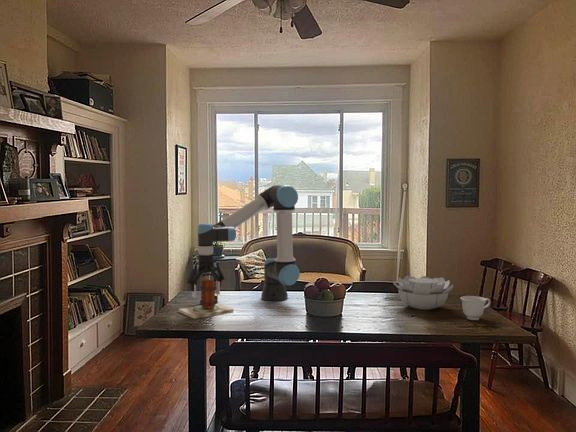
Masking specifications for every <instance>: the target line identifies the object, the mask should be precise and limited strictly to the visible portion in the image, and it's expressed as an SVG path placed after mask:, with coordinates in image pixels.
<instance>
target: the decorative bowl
mask: <svg viewBox="0 0 576 432" xmlns="http://www.w3.org/2000/svg"><path fill="white" fill-rule="evenodd" d="M450 283H451V281H450V280H447V281H446V280H445V278H444V277H434V278H430V277H428V276H426V275H423V276H420V277H414V276H410V275H406V276H404V277H403V278H401V277H398V278H397V283H396V281H395V280H394V279H393V280H392V284H393V285H394V287H396V288H397V291H398V296H399V298H400V299H401V301H402V302H403V304H404V305H407V306H408V307H411V308H412V309H417V310H422V311H423V310H426V311H428V310H433V309H437V308H440V307H442V306H443V305H444V304H445V302H446V301H447V299H448V297H449V292H450V291H452V290H453V289H454V283H452V284H451V285H450Z"/></svg>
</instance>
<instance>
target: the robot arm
mask: <svg viewBox="0 0 576 432" xmlns="http://www.w3.org/2000/svg"><path fill="white" fill-rule="evenodd" d="M298 200H299V194H298V192H297V190H296V189H295V187H293V186H291V185H288V184H281V185H280V184H275V185H272V186H270V187H268V188H267V189H265V190H264V191H262V192H260V193H259V194H257V196H256V198H254V199H253V200H251V201H250V202H248V203H246V204H245V205H244V206H242V207H241V208H239V209H237V210H236V211H234V212H232V213H231V214H230V215H227V216H226V217H225V218H223V219H221V220H220V221H219V222H217V223H215V224H214V223H199V224H198V226H197V242H198V243H197V244H198V247H197V250H198V251H197V253H198V255H197V260H198V263H197V264H192V268H191V271H190V274H189V276H188V278H187V281H186V283H187V284H189V285H190V291H191V295H192V296H191V297H192V298H193V299H196V298H197V284H196V283H197V281H198V280H199V278H200V277H202V274H203V273H206V272H211V274H212V275H213V276H214V277H213V276H212V277H213V278H215V280H217V281H216V285H215V286H216V288H217V289H216V293H215V295H217V294H218V295H221V291H220V290H221V287H222V282H223V281H224V280H225V277H224V275H223V272H222V270H221V268H220V264H219V262H218V261H216V262H215V261H214V243H217V242H218V243H219V242H222V243H223V242H233V241H235V240H236V237H237V230H236V228H237V227H239V226H241V225H242V224H244V223H245V222H247V221H248V220H250V219H252V218H253V217H255V216H256V215H259V213H261V212H262V211H267V210H269V209H270V208H271V209H272V208H273V209H272V210H273V212H274V213H275V214H276V215H275V216H276V220H275V221H276V251H277V252H276V255H277V256H276V258H266V259H265V260H264V263H263V267H264V268H263V269H264V270H263V271H264V273H263V274H264V276H263V277H264V281H263V283H264V285H263V288H262V292H261V294H260V295H261V299H262V300H264V301H268V302H270V301H271V302H280V301H286V300H287V299H289V296H288V291H287V288H286V286H292V285H294V284H295V283H296V282H297V281H298V280H299V278H300V273H301V272H300V269H299V267H298V266H297V259H296V258H295V257H294V245H293V244H294V243H293V236H294V235H293V213H294V211H295V209H296V208H295V207H296V206H295V205H296V204H297V203H298ZM214 269H215V270H214ZM215 272H217V274H216V273H215Z"/></svg>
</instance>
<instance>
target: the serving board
mask: <svg viewBox="0 0 576 432" xmlns="http://www.w3.org/2000/svg"><path fill="white" fill-rule="evenodd" d="M178 313H180V314H182V315H185V316H187V317H190V318H192V319H194V320H196V319H200V318H207V317H214V316H218V315H224V314H230V313H234V308H231V307H228V306H226V305H223V304H220V303H217V304H216V305H215V307H214V308H213V309H203V308H202V305H201V304H199V305H195V306H189V307H183V308H182V307H181V308H178Z"/></svg>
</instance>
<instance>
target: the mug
mask: <svg viewBox="0 0 576 432" xmlns="http://www.w3.org/2000/svg"><path fill="white" fill-rule="evenodd" d="M214 280H215V279H210V280H209V276H204V277H203V280H201V281H202V286H201V285H200V291H201V290H202V300H201V299H200V300H199V303H200V305H202V308H203V309H213V308H214V307H215V305H216V304H218V303H217V302H216V299H215V296H216V293H215V290H216V289H217V288H216V285H215V281H214Z"/></svg>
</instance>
